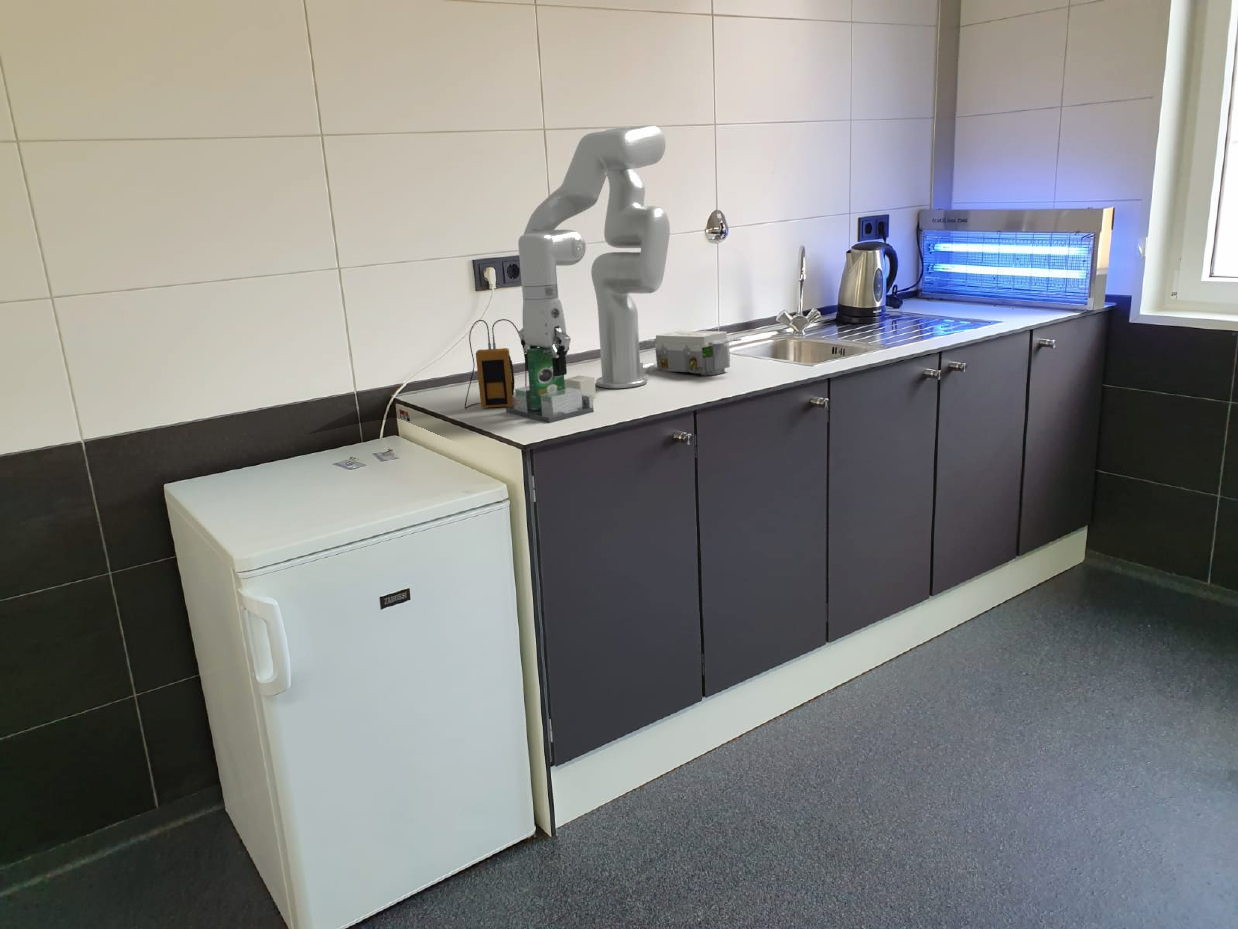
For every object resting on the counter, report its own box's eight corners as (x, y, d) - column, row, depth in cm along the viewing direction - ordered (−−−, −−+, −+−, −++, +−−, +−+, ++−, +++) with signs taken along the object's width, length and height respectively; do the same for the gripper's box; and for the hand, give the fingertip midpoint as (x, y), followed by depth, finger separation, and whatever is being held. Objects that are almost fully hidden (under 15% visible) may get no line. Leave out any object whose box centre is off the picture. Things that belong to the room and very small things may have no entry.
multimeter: (531, 396, 218) (524, 312, 213) (529, 406, 209) (521, 317, 203) (469, 400, 218) (460, 315, 212) (464, 410, 209) (455, 321, 203)
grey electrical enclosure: (716, 379, 223) (713, 338, 221) (640, 373, 245) (637, 335, 243) (749, 371, 230) (747, 331, 227) (673, 366, 252) (670, 329, 249)
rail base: (549, 401, 212) (547, 380, 210) (593, 411, 200) (592, 389, 199) (506, 411, 204) (504, 389, 203) (549, 422, 193) (547, 399, 191)
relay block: (579, 396, 216) (578, 375, 215) (595, 398, 213) (594, 377, 211) (565, 400, 212) (564, 379, 211) (581, 403, 209) (580, 381, 208)
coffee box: (559, 401, 205) (555, 343, 202) (567, 403, 203) (563, 344, 199) (529, 408, 201) (524, 348, 197) (537, 410, 198) (532, 350, 195)
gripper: (579, 293, 191) (584, 374, 196) (530, 289, 203) (537, 365, 208) (550, 297, 186) (556, 380, 191) (502, 293, 199) (509, 371, 204)
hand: (546, 372), depth 200 cm, fingers open, 9 cm apart
